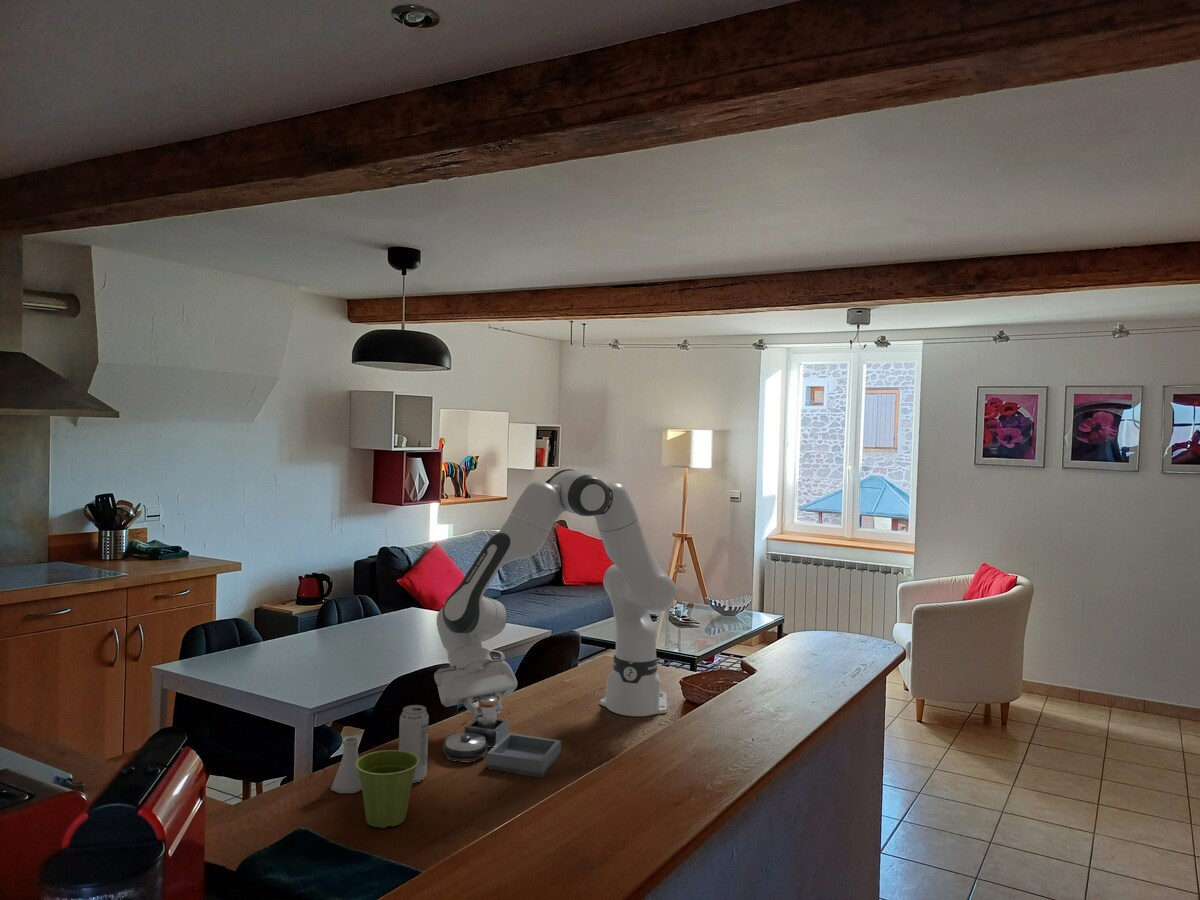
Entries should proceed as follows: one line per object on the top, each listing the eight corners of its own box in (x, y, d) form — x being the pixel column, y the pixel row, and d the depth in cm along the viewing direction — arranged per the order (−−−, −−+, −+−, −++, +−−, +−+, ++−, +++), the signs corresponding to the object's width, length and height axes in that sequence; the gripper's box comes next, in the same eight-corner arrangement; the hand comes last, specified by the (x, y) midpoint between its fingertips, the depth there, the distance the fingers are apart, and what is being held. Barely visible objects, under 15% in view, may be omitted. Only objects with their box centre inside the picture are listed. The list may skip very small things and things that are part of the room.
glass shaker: (481, 735, 201) (483, 694, 201) (498, 738, 200) (500, 697, 200) (473, 742, 197) (475, 700, 197) (491, 744, 196) (493, 702, 195)
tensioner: (470, 730, 204) (470, 714, 204) (508, 736, 201) (508, 719, 201) (435, 759, 185) (436, 741, 185) (476, 766, 183) (477, 747, 183)
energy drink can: (401, 772, 178) (404, 703, 178) (429, 773, 178) (432, 704, 177) (393, 784, 172) (396, 712, 172) (422, 785, 172) (425, 714, 171)
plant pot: (422, 806, 163) (424, 749, 162) (410, 836, 151) (413, 775, 150) (361, 804, 162) (364, 748, 162) (345, 834, 150) (347, 773, 150)
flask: (356, 797, 165) (358, 747, 165) (323, 792, 167) (325, 743, 167) (373, 782, 173) (375, 734, 172) (341, 777, 174) (343, 730, 174)
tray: (507, 747, 194) (508, 732, 194) (560, 755, 191) (561, 740, 191) (486, 768, 182) (486, 753, 182) (542, 777, 178) (542, 761, 178)
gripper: (436, 663, 197) (455, 716, 189) (508, 651, 210) (529, 700, 202) (426, 677, 200) (445, 729, 193) (498, 664, 213) (518, 713, 206)
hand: (488, 714), depth 198 cm, fingers closed on glass shaker, 4 cm apart
